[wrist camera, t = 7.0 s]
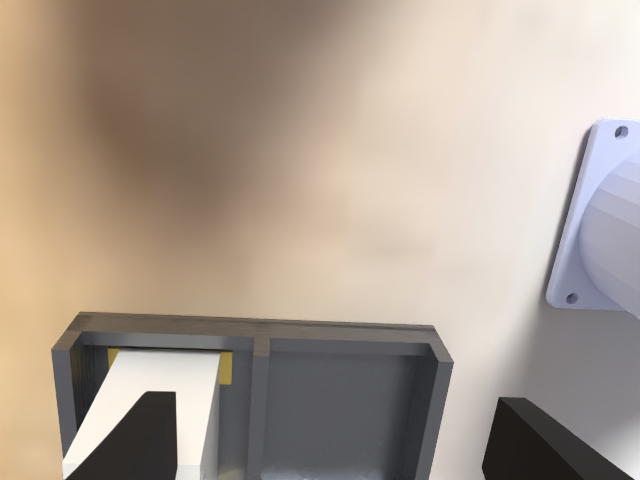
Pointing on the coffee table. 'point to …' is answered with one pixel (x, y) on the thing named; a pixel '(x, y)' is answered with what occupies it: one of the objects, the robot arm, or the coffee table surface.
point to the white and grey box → (159, 375)
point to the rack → (285, 390)
